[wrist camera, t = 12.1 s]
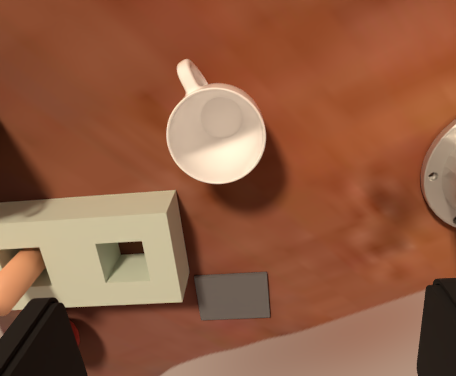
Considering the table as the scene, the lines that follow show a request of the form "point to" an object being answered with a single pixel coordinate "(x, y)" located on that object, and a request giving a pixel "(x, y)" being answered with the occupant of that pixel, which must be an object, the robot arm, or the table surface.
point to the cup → (214, 129)
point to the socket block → (100, 248)
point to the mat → (232, 296)
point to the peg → (19, 277)
